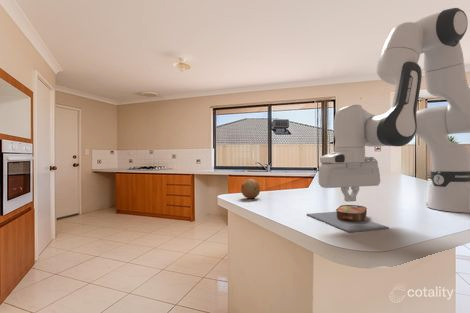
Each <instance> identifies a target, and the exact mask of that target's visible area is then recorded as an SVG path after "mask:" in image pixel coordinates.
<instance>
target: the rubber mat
mask: <svg viewBox="0 0 470 313" xmlns="http://www.w3.org/2000/svg"><path fill="white" fill-rule="evenodd" d="M306 216H308V217H310V218H313V219H315V220H318V221H320V222H322V223H324V222H325V224H327V225H330V226H331V227H335V228H336V229H340V230H341V231H344V232H346V233H359V232H369V231H377V230H380V231H381V230H386V229H390V227H389V226H386V225H383V224H380V223H378V222H375V221H370V220H367V219H366V218H365V219H364V220H363V221H352V220H341V219H338V218H337V211H327V212H314V213H313V212H312V213H306Z"/></svg>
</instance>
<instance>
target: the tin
mask: <svg viewBox="0 0 470 313" xmlns="http://www.w3.org/2000/svg"><path fill="white" fill-rule="evenodd" d="M367 209H368V208H367V207H366V206H364V205H355V204H343V205H340V206H339V207H337V208H336V211H335V212H337V218H338V219H341V220H352V221H363V220H364V219H365V220H366V216H367V212H368V211H367Z"/></svg>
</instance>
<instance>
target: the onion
mask: <svg viewBox="0 0 470 313" xmlns="http://www.w3.org/2000/svg"><path fill="white" fill-rule="evenodd" d="M240 191H241V194H242V195H243V196H244V198H247V199H255V198H257V197H258V196H259V195H260V192H261V186H260V184H259V182H258V181H257V180H256V179H253V178H246V179H245V180H244V181H243V182H242V183H241V186H240Z"/></svg>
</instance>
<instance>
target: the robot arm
mask: <svg viewBox="0 0 470 313" xmlns="http://www.w3.org/2000/svg"><path fill="white" fill-rule="evenodd" d="M468 22H469V21H468V16H467V14H466V12H465V10H462V9H461V8H460V7H453V8H452V7H451V8H448V9H444V10H442V11H440V12H437V13H434V14H430V15H428V16H425V17H422V18H420V19H418V20H417V21H413V22H412V21H407V22H402V23H399V24H398V25H395V27H394V28H393V29H392V30H391V32H390V33H389V35H388V37H387V39H386V41H385V43H384V44H383V47H382V49H381V52H380V55H379V57H378V60H377V66H376V73H377V75H378V77H379V78H380V79H381V80H382V81H383V82H385V83H387V84H390V85H394V86H395V90H394V94H393V95H394V96H393V100H392V105H391V107H390V109H389V110H388V111H387V112H384V113H382V114H379V115H375V114H372V113H370V112H369V111H366V110H365V109H364V108H363V107H362V105H360V104H353V105H347V106H344V107H342V108H339V109H337V111H336V112H335V115H334V119H333V120H334V121H333V136H334V141H335V143H334V148H333V151H332V152H329V153H328V154H324V155H322V156H320V158H319V163H321V164H320V165H319V168H318V185H319V186H320V187H321V188H325V189H331V188H332V189H334V188H335V189H337V188H340V191H341V193H342V194H343V198H344V201H345V202H346V203H347V202H349V203H350V202H356V201H357V196H358V194H359V191H360V187H374V186H375V187H378V186H380V184H381V174H380V168H379V164H378V160H377V159H376V158H375V157H374V156H366V147H369V148H370V147H404V146H406V145H407V144H409V143H411V141H412V140H413V139H414V138H415V136H417V137H419V138H420V139H422V140H423V141H424V143H426V145H427V147H428V150H429V152H430V160H431V171H430V172H429V173H430V175H429V178H430V180H431V183H430V184H429V186H428V196H427V198H428V199H427V201H426V202H425V205H426V206H427V208H430V209H433V210H439V211H443V212H444V211H446V212H453V213H465V214H466V213H469V214H470V150H469V148H468V147H467V146H464V145H462V144H460V143H456V142H454V141H451V140H450V139H449V135H453V134H454V135H456V134H468V133H470V85H469V83H468V80H467V76H466V69H465V68H466V67H465V58H464V55H463V54H464V53H463V49H462V46H461V42H460V41H461V40H462V39H463V37H464V36H465V34H466V32H467V29H468ZM422 54H423V69H424V70H423V71H424V80H425V87H426V91H427V92H428V94H429V95H431V96H434V97H438V98H441V99H445V100H446V101H447V102H448V104H445V105H438V106H431V107H426V108H422V109H419V110H418V103H419V99H420V98H419V97H420V91H421V86H422V85H421V84H422V76H423V75H422V73H423V72H422V69H421V65H419V60H420V56H421V55H422ZM350 190H351V193H349V192H348V191H350Z"/></svg>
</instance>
